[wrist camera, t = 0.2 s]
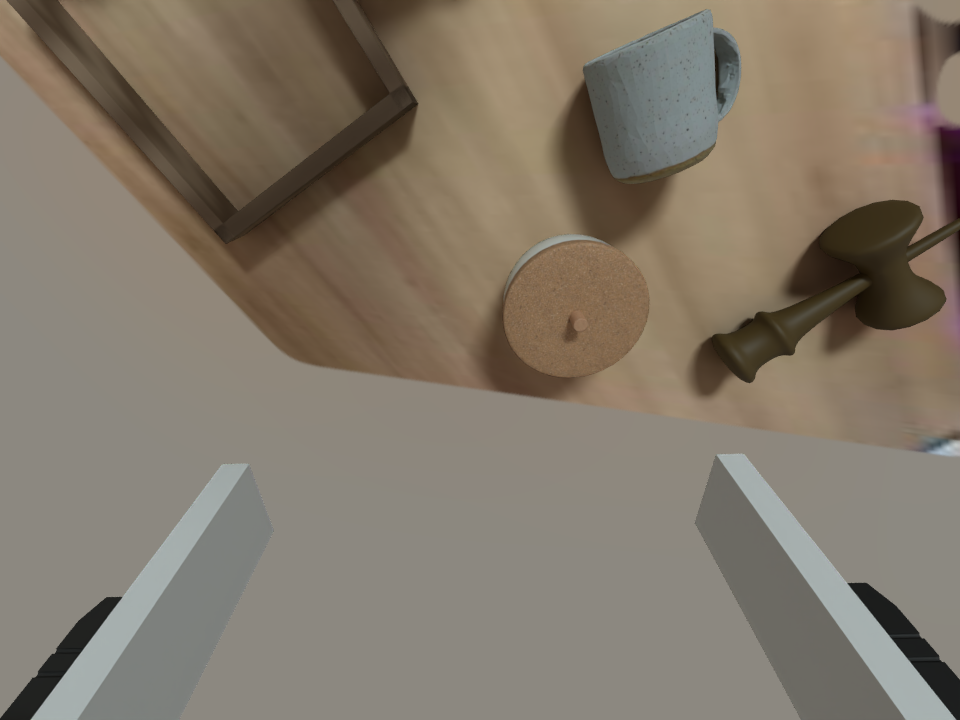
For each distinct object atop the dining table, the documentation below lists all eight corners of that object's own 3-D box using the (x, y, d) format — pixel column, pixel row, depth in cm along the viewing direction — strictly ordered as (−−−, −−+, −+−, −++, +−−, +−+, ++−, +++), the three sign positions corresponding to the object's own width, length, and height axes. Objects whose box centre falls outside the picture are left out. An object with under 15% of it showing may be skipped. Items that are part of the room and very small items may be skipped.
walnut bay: (25, -17, 28) (-21, -31, 26) (214, -239, 24) (182, -283, 21) (244, 235, 36) (225, 243, 34) (418, 103, 32) (412, 101, 29)
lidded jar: (590, 194, 35) (624, 216, 27) (637, 302, 39) (679, 349, 31) (476, 261, 38) (475, 300, 29) (532, 355, 42) (546, 411, 34)
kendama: (686, 312, 40) (921, 159, 34) (730, 377, 44) (950, 251, 37) (716, 343, 35) (1000, 169, 29) (763, 414, 39) (1025, 275, 32)
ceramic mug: (601, 183, 34) (633, 197, 28) (570, 70, 31) (598, 54, 24) (736, 124, 33) (806, 124, 26) (721, -3, 29) (797, -43, 22)
